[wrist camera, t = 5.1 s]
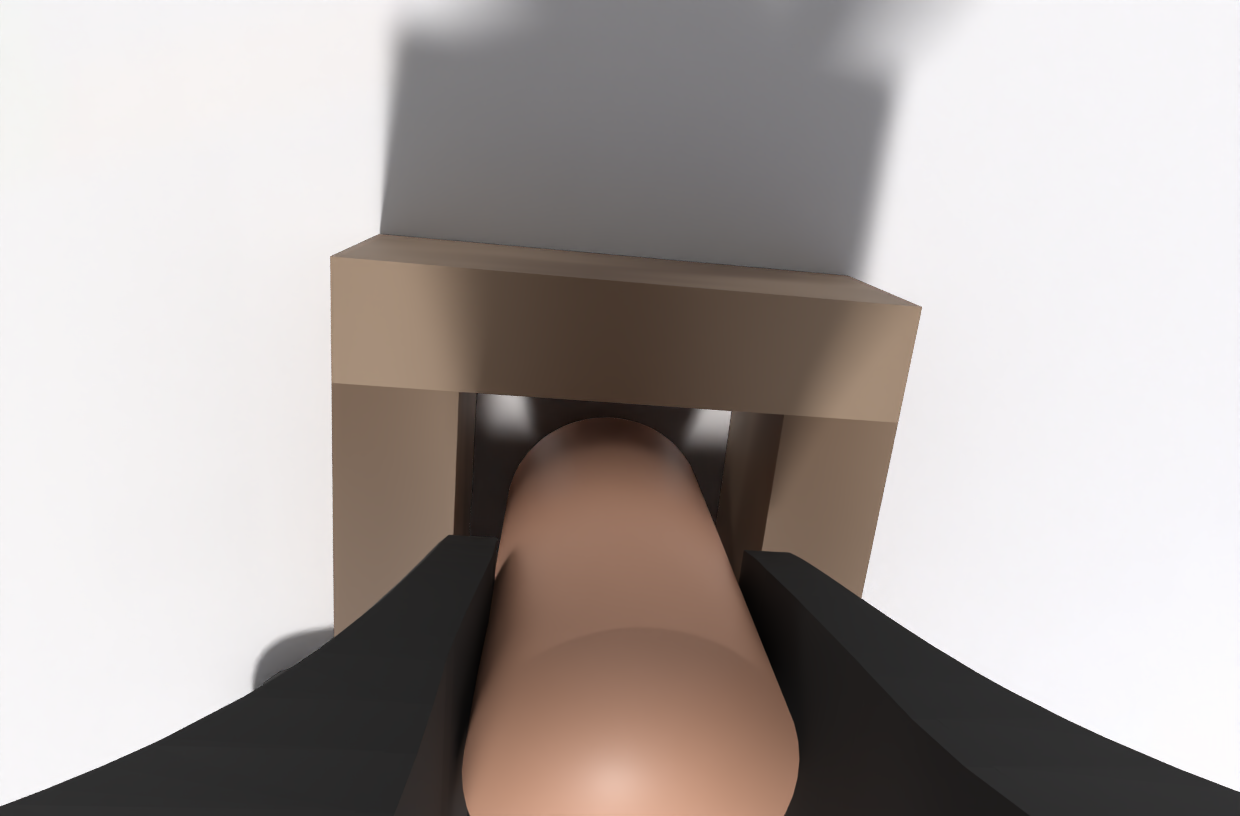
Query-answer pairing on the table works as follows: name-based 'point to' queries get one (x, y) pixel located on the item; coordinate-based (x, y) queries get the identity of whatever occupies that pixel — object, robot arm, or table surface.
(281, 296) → the table surface
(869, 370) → the socket block
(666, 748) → the peg
